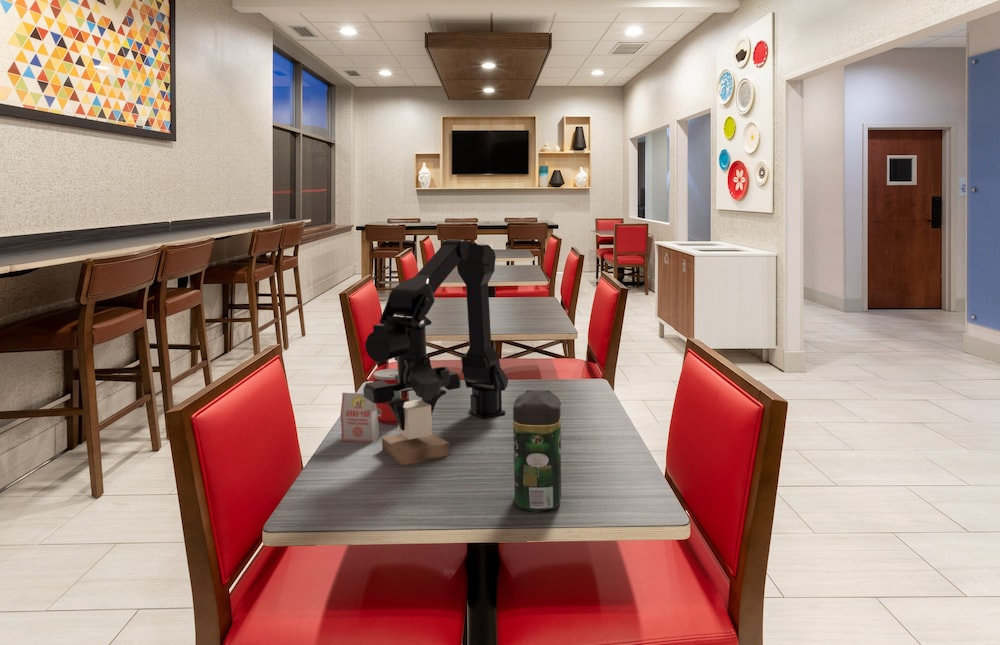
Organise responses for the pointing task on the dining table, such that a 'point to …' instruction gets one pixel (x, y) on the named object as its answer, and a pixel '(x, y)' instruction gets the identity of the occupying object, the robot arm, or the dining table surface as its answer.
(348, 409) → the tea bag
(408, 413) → the cream block
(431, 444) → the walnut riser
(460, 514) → the dining table surface
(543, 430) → the coffee jar
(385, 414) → the canned food
